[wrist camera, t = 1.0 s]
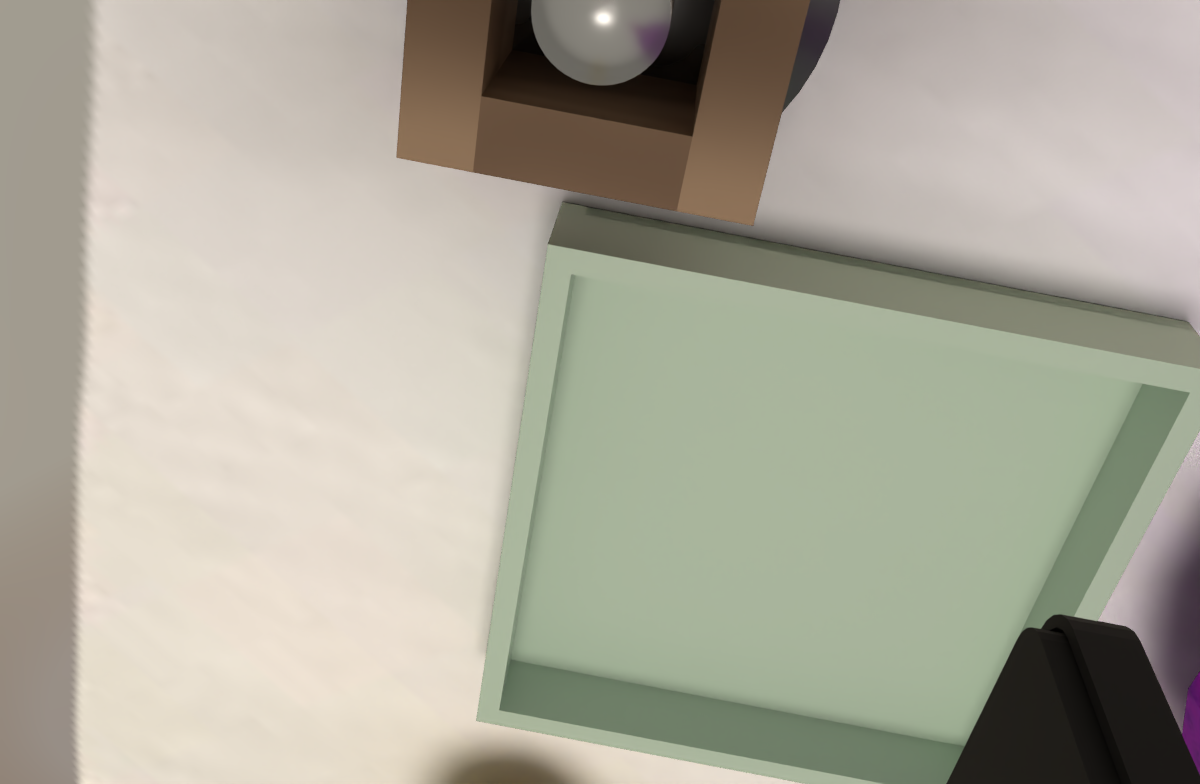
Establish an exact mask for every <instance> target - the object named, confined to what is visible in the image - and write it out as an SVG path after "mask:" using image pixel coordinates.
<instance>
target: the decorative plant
mask: <svg viewBox="0 0 1200 784" xmlns="http://www.w3.org/2000/svg"><path fill="white" fill-rule="evenodd" d="M1182 736H1183V738H1184V740H1185V743H1186V745H1187V747H1188V749H1189V752H1190V754H1191V756H1192V758H1193V761H1194V763H1195V765H1196V767H1197V770H1198V772H1199V774H1200V672H1199V673H1198V675H1197V676H1196V678H1195V679H1194V681H1193V682H1192V684H1191V685H1190V687H1189V688H1188V694H1187V701H1186V709H1185V716H1184V723H1183V731H1182Z"/></svg>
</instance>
